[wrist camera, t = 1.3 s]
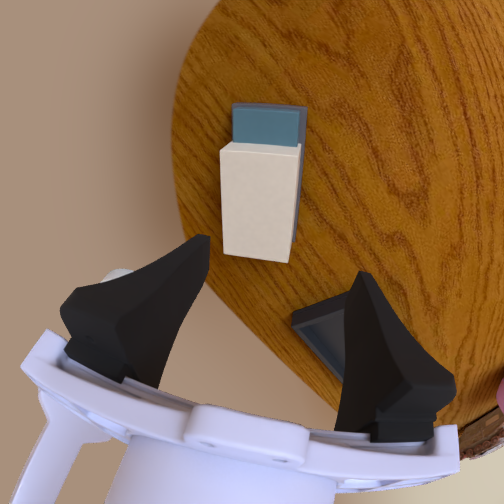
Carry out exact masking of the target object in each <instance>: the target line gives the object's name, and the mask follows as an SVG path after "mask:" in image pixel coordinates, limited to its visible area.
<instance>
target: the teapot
mask: <svg viewBox="0 0 504 504" xmlns="http://www.w3.org/2000/svg"><path fill="white" fill-rule="evenodd" d="M496 399H497V402H498V405H499V407H500V409H501V411H502V412H503V413H504V378H503V379H502V381H501V383H500V385H499V388H498V391H497V394H496Z"/></svg>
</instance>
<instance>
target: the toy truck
mask: <svg viewBox="0 0 504 504" xmlns="http://www.w3.org/2000/svg"><path fill="white" fill-rule="evenodd" d="M307 108H308V107H305V106H295V105H283V104H267V103H234V104H232V141H231V142H230V143H229V144H227V145H226V146H225V147H224V148H222V149H221V150H220V177H221V205H222V228H223V249H224V254H227V255H234V256H241V257H248V258H255V259H262V260H269V261H277V262H284V263H288V260H289V255H290V249H291V243H292V242H295V237H296V229H297V220H298V211H299V202H300V192H301V182H302V172H303V161H304V149H305V136H306V123H307Z"/></svg>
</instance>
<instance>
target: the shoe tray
mask: <svg viewBox="0 0 504 504" xmlns="http://www.w3.org/2000/svg"><path fill="white" fill-rule="evenodd" d="M348 294H349V291H348V292H345V293H343V294H340V295H338V296H335V297H332V298H330V299H327V300H324V301H322V302H319V303H316V304H314V305H311V306H308V307H305V308H303V309H300V310H297V311H294V312H293V317H292V324H291V327H292V328H293V330H294V331H295V332H296V333H297V334H298V335H299V336H300V337H301V339H302V340H303V341H304V342H305V343H306V344H307V345H308V346H309V347H310V349H311V350H312V351H313V352H314V353H315V354H316V355H317V356H318V357H319V359H320V360H321V361H322V362H323V363H324V364H325V365H326V366H327V367H328V368H329V370H330V371H331V372H332V373H333V374H334V375H335V376H336V377H337V378H338V379H339V381H340V382H341V383H342V384H343V379H344V369H345V341H344V307H345V300H346V298H347V296H348Z"/></svg>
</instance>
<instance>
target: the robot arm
mask: <svg viewBox="0 0 504 504" xmlns="http://www.w3.org/2000/svg"><path fill="white" fill-rule="evenodd" d="M209 258H210V236H206V235H202V234H197V235H196V236H194V237H193V238H191V239H190V240H188V241H187V242H185V243H184V244H182V245H181V246H179V247H178V248H176V249H174V250H173V251H172V252H170V253H168V254H167V255H165V256H163V257H161V258H160V259H158V260H157V261H154V262H153V263H151V264H149V265H147V266H145V267H143V268H141V269H139V270H136V271H134V272H131V273H129V274H126V275H123V276H121V277H118V278H115V279H112V280H109V281H105V282H102V283H98V284H94V285H88V286H83V287H78V288H76V289H75V290H74V291H73V292H72V294H71V295H70V296H69V297H68V298H67V300H66V301H65V302H64V303H63V304H62V306H61V307H60V315H61V318H62V320H63V322H64V324H65V326H66V328H67V329H68V331H69V333H70V335H71V337H72V338H71V339H70V340H69V342H68V341H67V340H66V339H65V338H63V337H62V336H60V335H58V334H57V333H55V332H53V331H51V330H50V329H46V330H45V332H44V333H43V334H42V336H41V337H40V338H39V340H38V341H37V343H36V344H35V345H34V347H33V348H32V350H31V351H30V352H29V354H28V356H27V357H26V358H25V360H24V361H23V363H22V364H21V366H20V367H21V369H22V370H23V371H24V372H25V373H26V375H27V376H28V377H29V378H30V379H31V380H32V381H33V382H34V383H35V384H36V385H37V386H38V387H39V388H38V399H39V401H40V404H41V406H42V409H43V411H44V413H45V416H46V418H47V422H46V424H45V426H44V428H43V430H42V432H41V434H40V436H39V437H38V439H37V441H36V443H35V445H34V447H33V449H32V451H31V453H30V455H29V457H28V459H27V462H26V464H25V466H24V468H23V470H22V472H21V475H20V477H19V479H18V481H17V484H16V486H15V489H14V491H13V493H12V496H11V498H10V501H9V503H8V504H55V501H56V499H57V497H58V494H59V492H60V490H61V488H62V486H63V483H64V481H65V479H66V477H67V475H68V473H69V471H70V469H71V467H72V465H73V462H74V461H75V459H76V457H77V455H78V453H79V451H80V449H81V447H82V445H83V444H84V443H99V442H107V441H109V440H110V439H111V438H112V437H114V438H116V439H118V440H120V441H122V442H124V443H126V444H128V448H127V450H126V452H125V454H124V457H123V459H122V461H121V464H120V466H119V468H118V471H117V473H116V476H115V478H114V480H113V482H112V485H111V488H110V490H109V492H108V495H107V497H106V500H105V502H104V504H334V497H335V493H355V492H356V493H357V492H371V491H381V490H390V489H398V488H404V487H412V486H418V485H424V484H428V483H431V482H433V481H436V480H439V479H442V478H445V477H447V476H450V475H452V474H455V473H457V472H459V471H460V458H459V442H458V431H457V425H456V424H452V425H441V426H437V427H434V428H433V422H434V421H436V419H437V417H436V413H437V412H438V411H439V410H441V409H442V408H443V407H445V406H446V405H448V404H449V403H450V402H451V401H452V400H453V399H454V397H455V396H456V393H457V390H456V385H455V380H454V375H453V374H452V373H450V372H449V371H448V370H447V369H445V368H444V367H443V366H442V365H440V364H439V363H438V362H437V361H436V360H435V359H434V358H433V357H432V356H430V355H429V354H428V353H427V352H426V351H425V350H424V349H423V347H422V346H421V345H420V344H419V343H418V342H417V341H416V340H415V339H414V337H413V336H412V335H411V334H410V333H409V331H408V330H407V329H406V327H405V326H404V325H403V323H402V322H401V321H400V319H399V318H398V316H397V315H396V313H395V312H394V310H393V309H392V307H391V306H390V304H389V303H388V301H387V299H386V298H385V296H384V294H383V293H382V291H381V289H380V288H379V286H378V284H377V283H376V281H375V279H374V278H373V276H372V275H371V273H367V272H363V271H359V272H358V274H357V276H356V279H355V281H354V283H353V285H352V287H351V289H350V291H349V294H348V296H347V298H346V300H345V307H344V341H345V369H344V379H343V387H342V393H341V400H340V405H339V410H338V415H337V420H336V424H335V428H334V431H329V430H320V429H312V428H305V427H304V426H302V425H301V424H296V423H293V422H289V421H284V420H278V419H273V418H268V417H263V416H259V415H254V414H250V413H245V412H241V411H237V410H233V409H229V408H225V407H222V406H217V405H212V404H198V403H195V402H192V401H189V400H186V399H183V398H180V397H177V396H174V395H172V394H169V393H166V392H163V391H161V390H158V387H159V384H160V380H161V377H162V374H163V370H164V368H165V365H166V362H167V359H168V356H169V354H170V351H171V348H172V346H173V343H174V341H175V338H176V336H177V333H178V331H179V328H180V326H181V324H182V322H183V320H184V318H185V316H186V315H187V313H188V311H189V309H190V307H191V306H192V303H193V302H194V300H195V299H196V297H197V295H198V293H199V291H200V290H201V288H202V286H203V283H204V281H205V279H206V276H207V274H208V271H209Z"/></svg>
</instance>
